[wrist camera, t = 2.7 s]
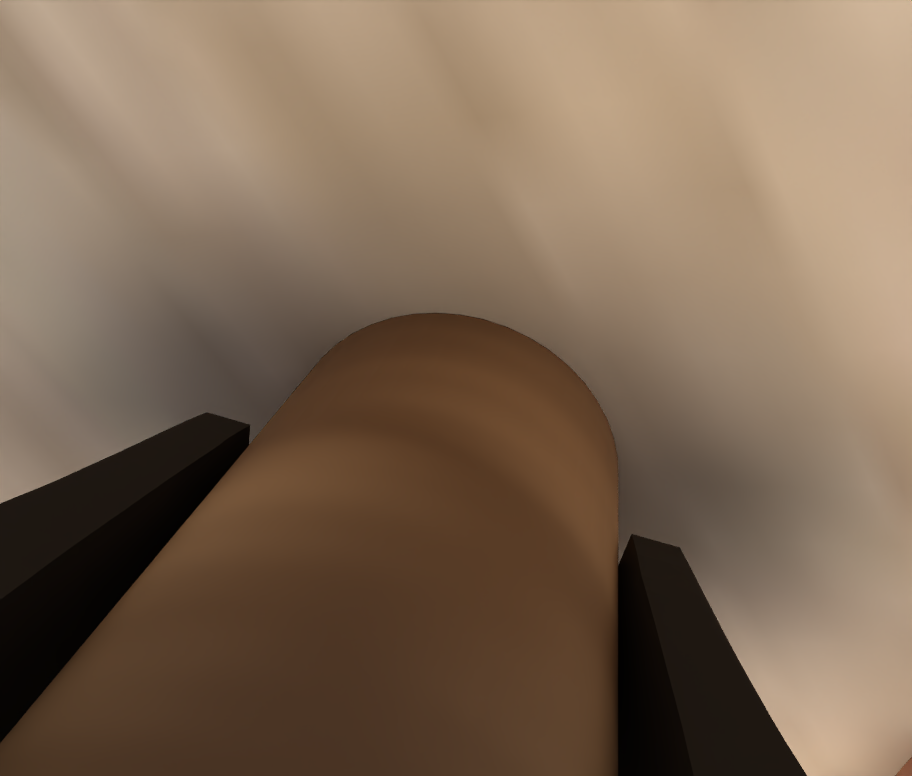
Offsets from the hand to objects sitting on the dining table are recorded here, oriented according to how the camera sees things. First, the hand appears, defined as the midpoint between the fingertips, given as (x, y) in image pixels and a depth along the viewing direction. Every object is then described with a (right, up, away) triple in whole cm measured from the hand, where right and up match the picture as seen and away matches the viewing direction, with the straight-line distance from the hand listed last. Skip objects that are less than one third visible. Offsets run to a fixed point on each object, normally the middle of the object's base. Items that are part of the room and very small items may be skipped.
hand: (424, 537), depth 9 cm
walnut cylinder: (0, +1, +1) cm, 2 cm away
